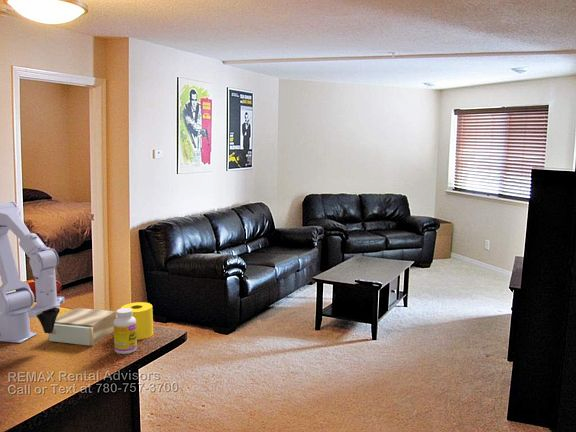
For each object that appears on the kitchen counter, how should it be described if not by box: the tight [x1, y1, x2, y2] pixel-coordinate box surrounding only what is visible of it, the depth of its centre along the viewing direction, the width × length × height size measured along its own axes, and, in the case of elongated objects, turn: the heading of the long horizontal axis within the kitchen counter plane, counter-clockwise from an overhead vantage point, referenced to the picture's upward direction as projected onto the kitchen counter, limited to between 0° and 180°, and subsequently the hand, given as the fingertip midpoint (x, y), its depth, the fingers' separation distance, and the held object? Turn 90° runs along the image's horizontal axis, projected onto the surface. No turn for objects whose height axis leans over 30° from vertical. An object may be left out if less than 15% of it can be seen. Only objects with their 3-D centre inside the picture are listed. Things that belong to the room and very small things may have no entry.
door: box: [48, 324, 95, 347], centre depth 170 cm, size 16×2×6 cm, turn 76°
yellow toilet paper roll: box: [120, 301, 154, 341], centre depth 179 cm, size 10×10×9 cm
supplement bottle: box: [113, 307, 138, 355], centre depth 166 cm, size 7×7×13 cm
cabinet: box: [55, 307, 117, 345], centre depth 178 cm, size 15×14×6 cm
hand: (48, 332), depth 166 cm, fingers closed
